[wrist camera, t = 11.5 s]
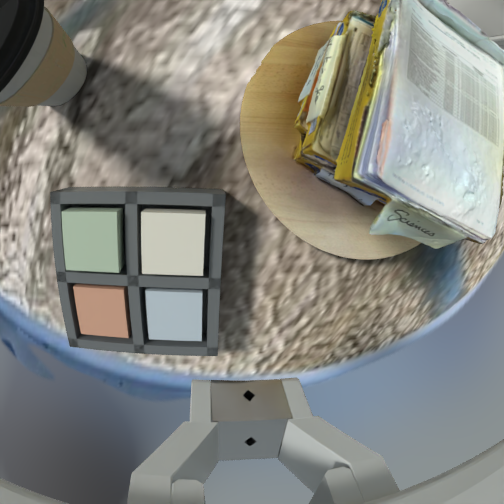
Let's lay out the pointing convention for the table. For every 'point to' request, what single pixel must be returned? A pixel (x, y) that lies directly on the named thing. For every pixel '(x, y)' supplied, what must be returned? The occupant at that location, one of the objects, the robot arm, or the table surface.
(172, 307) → the key bluegrey
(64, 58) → the coffee cup
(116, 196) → the keypad
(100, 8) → the table surface
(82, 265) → the key sage
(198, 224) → the key cream
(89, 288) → the key terracotta
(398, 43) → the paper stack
